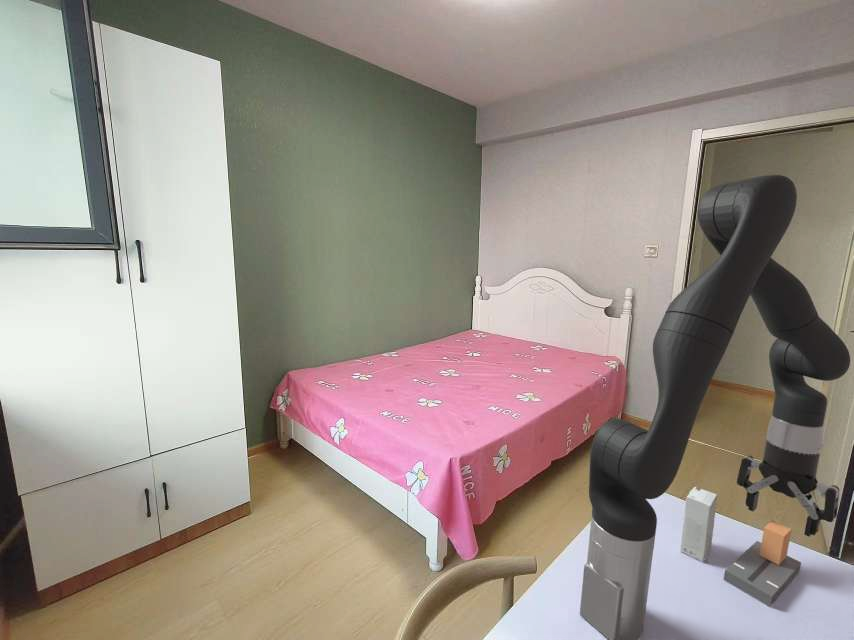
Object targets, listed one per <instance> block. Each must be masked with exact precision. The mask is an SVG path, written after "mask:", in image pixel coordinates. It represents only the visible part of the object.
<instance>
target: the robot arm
mask: <svg viewBox="0 0 854 640" xmlns="http://www.w3.org/2000/svg"><path fill="white" fill-rule="evenodd" d="M797 197H798V194H797V188H796V186H795V183H794V182H793V180H791V179H790V177H787V176H785V175H782V174H770V175H769V174H768V175H760V176H755V177H750V178H747V179H740V180H735V181H731V182H726V183H722V184H719V185H716V186H713V187H711V188H709V189H708V190H707V191H705V192H704V193H703V195H702V196H701V199H700V200H699V203H698V206H697V221H698V225H699V226H700V229H701V231H702V232H703V235H704V236H705V238H706V239H707V240H708V241H709V243H710V244H711V245H712V246H713V248H714V249H715V250H716V252H717V253H718V254H719V255H720V256H719V257H718V258H717V259H716V260H715V262H714V263H712V265H710V266H709V267H708V268H707V269H706V270H705V271H704V272H703V273H701V274H700V275H699V276H698V277H696V278H695V279H694V280H693V281H692V282H691V283H690V284H689V283H688V285H687V286H686V287H684V288H683V290H682V291H680V292H679V293H678V294H677V295H676V297H674V298H673V300H672V301H671V302H670V303H669V305H668V307H667V309H666V311H665V313H664V315H663V318H662V320H661V322H660V324H659V326H658V328H657V331H656V333H655V335H654V338H653V342H652V356H653V357H652V358H653V365H654V369H655V375H656V379H657V388H658V397H657V399H658V400H657V406H656V409H655V413H654V415H653V418H652V421H651V424H650V426H649V427H648V429H646V428H644V427H641V426H639V425H637V424H635V423H633V422H631V421H629V420H626V419H622V418H612V419H608V420H607V421H605V422H604V423H602V424H601V425H600V427H599V428H598V429H597V431H596V432H595V434H594V437H593V439H592V442H591V447H590V453H589V454H590V455H589V472H588V473H589V475H588V476H589V477H588V479H589V480H588V483H589V484H588V497H589V502H590V505H591V517H590V519H591V520H590V530H589V540H588V549H587V559H586V563H584V565H583V566H584V567H583V575H582V577H583V578H582V586H581V597H580V607H579V615H580V616H581V617H582V618H583V619H584V620H586V621H587V622H588V623H589V624H590V625H592V626H593V627H594V628H595V629H596V630H597V631H598V632H600V633H601V635H603V636H604V637H605V638H606V639H608V640H636V639H638V638H639V637H640V636H642V634H643V632H644V625H645V619H646V612H647V611H646V610H647V603H648V595H649V587H650V586H649V585H650V579H651V573H652V572H651V571H652V564H653V555H654V548H655V540H656V531H657V526H658V525H657V524H658V517H657V512H656V511H655V509H654V507H653V506H652V504H650V502H649V501H648V500H655V499H658V498H659V497H661V496H662V495H664V494H665V493H666V491H668V489H669V488H670V486H671V485H672V483H673V482H674V480H675V478H676V476H677V474H678V472H679V469H680V466H681V464H682V461H683V458H684V456H685V455H684V454H685V452H686V449H687V446H688V443H689V439H690V437H691V434H692V430H693V429H694V428H693V427H694V424H695V421H696V419H697V416H698V414H699V410H700V408H701V405H702V403H703V401H704V398H705V396H706V393H707V391H708V389H709V386H710V384H711V382H712V379H713V377H714V376H715V374H716V373H715V372H716V370H717V369H718V367H719V365H720V363H721V360H722V359H723V356H724V355H725V353H726V350H727V349H728V346H729V345H730V341H731V339H732V337H733V335H734V333H735V331H736V328H737V325H738V322H739V320H740V317H741V315H742V313H743V312H744V309H745V306H746V304H747V302H748V301H749V298H750V297H751V299H752V301H753V302H754V304H755V306H756V309H757V310H758V312H759V313H758V314H759V315H760V317H761V319H762V321H763V322H764V325H765V327H766V329H767V331H768V332H769V334H770V335H772V336H773V337H774V338H775V340H774V341H773V343H772V344H771V347H770V349H769V354H768V361H769V367H770V373H771V378H772V384H773V389H774V401H773V407H772V411H771V412H772V413H771V416H770V417H771V418H770V420H769V423H768V427H767V433H766V440H765V445H764V451H763V457H762V458H763V459H762V461H759V460H756V459H754V457H753V456H752V455H747V456H745V457H744V458H742V459H741V462H740V466H739V470H738V473H737V474H738V475H737V479H736V484H737V485H738V486H739V487H742V488H744V489H745V490H746V497H745V498H746V499H745V506H746V507H747V508H748V509H747V510H749V511H750V512H755V510H757V508H758V503H759V495H760V490H763V489H765V488H767V487H768V486H769V488H770V489H771V490H772V491H774V492H777V493H781V494H784V495H785V496H787V497H789V498H792V499H794V498H795V499H797V500H798V502H799V504H800V505H801V506H802V507H803V508H804V509H805V511H806V512H807V514H808V515H807V517H806V524H805V528H804V535H805V536H807V537H811V536H815V535H816V534H817V533H818V532H819V529H820V524H821V523H820V522H821V521H826V522H828V523H832V522H834V520H835V519H836V518H837V516H838V506H839V498H840V488H839V487H838V485H835V484H832V485H827V484H824V483H820V482H819V481H818V479H817V473H818V466H819V461H820V455H821V450H822V449H823V440H824V431H823V430H824V422H825V419H826V412H827V408H828V407H827V405H828V397H827V396H826V395H825V394H824V393H822V392H821V391H819V390H817V389H815V388H813V387H812V386H810V385H809V384H808V383H807V382H806V380H805V378H804V377H806V378H810V379H814V380H818V381H827V382H828V381H834V380H835V381H836V380H837V379H840V378H842V377H843V376H844V375H845V374H846V373H847V372H848V370H849V369H850V365H851V356H850V352H849V349H848V347H847V345H846V344H845V342H844V341H843V340H842V339H841V337H840V336H839V335H838V334H837V333H836V332H835V331H834V330H833V329H832V327H830V326H829V325H828V324H827V322H825V320H823V319H822V318H821V317H820V315H819V314H818V311H817V309H816V306H815V304H814V302H813V299H812V297H811V295H810V293H809V291H808V289H807V288H806V286H805V285H804V284H803V282H802V281H801V280H800V279H799V278H797V276H795V275H794V274H793V273H792V272H791V271H789V270H788V269H786V268H785V267H784V266H783V265H782V264H780V263H778V262H777V261H776V260H774V259H773V258H772V256H773V254H774V252H775V251H776V249H777V247H778V246H779V244H780V243H781V240H782V239H783V238H784V236H785V234H786V232H787V230H788V229H789V227H790V224H791V223H792V219H793V217H794V215H795V212H796V207H797V201H798V199H797ZM757 468H758V470H759V472H760V474H761V475H762V478H761V479H759V480H757V481H756V482H752V481H751V480H750V476H751V473H752V471H754V470H755V469H757ZM815 490H818V491H819V492H820V496H821V497H822V498H824V508H823V509H822V508H821V507H820V506H819V504H818V503H817V499H816V498H815V496H814V495H813V493H812V492H813V491H815Z"/></svg>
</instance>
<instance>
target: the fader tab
mask: <svg viewBox="0 0 854 640" xmlns="http://www.w3.org/2000/svg"><path fill="white" fill-rule="evenodd" d="M791 534H792V528H790V527H788V526H786V525H783V524H780V523H779V522H776V521H775V520H771V521H769V523H767V524H766V525H765V526H764V527H763V533H762V539H761V549H760V556H762V557H764V558H766V559H768V560H770V561H772V562H774V563H776V564H778V565H779V564H780V563H781V562H782V561H783V560H784V559H785V558H786V556H788V550H789V546H790V545H789V544H790V539H791Z"/></svg>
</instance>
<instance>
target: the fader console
mask: <svg viewBox="0 0 854 640" xmlns="http://www.w3.org/2000/svg"><path fill="white" fill-rule="evenodd" d="M761 543H762V541H761V542H760V541H759V540H756V541H755V542H754V543H753V544H751V546H750V547H749V548H747V549H746V550H745V551H744V552H743V553H742V554H741V555H740V556H739V557H737V558H736V559H735V560H734V561H733V562H732V563H731V564H730V565H728V567H726V568H725V570H724V574H723V581H725V582H727V583H729V584H730V585H732V586H734V587H735V588H737V589H739V590H740V591H742V592H743V593H745V594H747V595H749V596H751V597H752V598H754V599H755V600H757V601H759V602H760V603H762V604H765V605H766V606H768V607H772V605H773V604H774V603H775V602H776V600H777V599H779V597H780V596H781V595H782V593H783V592H784V591H785V590H786V588H788V586H789V585H790V584H791V583H792V581H793V580H794V579H795V578H796V576H797V575H799V573H800V571H801V568H802V567H801V566H802V562H801V561H799V560H797V559H795V558H793V557H791V556H789V555H787V556H786V558H785V559H784V560H783V561H782V562H781V563H780V564H779V565H778V564H776V563H774V562H772V561H770V560H768V559H766V558H764V557H762V556H760V549H761Z"/></svg>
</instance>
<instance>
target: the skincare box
mask: <svg viewBox="0 0 854 640" xmlns="http://www.w3.org/2000/svg"><path fill="white" fill-rule="evenodd" d="M717 498H718V495H717V494H716V493H714V492H711V491H709V490H705V489H702V488H699V487H697V486H694V487H693V488H692V489H691V490H690V491H689V493H688V495H687V496H686V499H685V507H684V515H683V523H682V532H681V533H682V534H681V542H680V553H683V554H684V555H686V556H689V557H690V558H693V559H694V560H696V561H699V562H701V563H703V562H705V561H706V560H707V558H708V556H709V554H710V552H711V549H712V543H713V535H714V527H715V517H716V508H717Z"/></svg>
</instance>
